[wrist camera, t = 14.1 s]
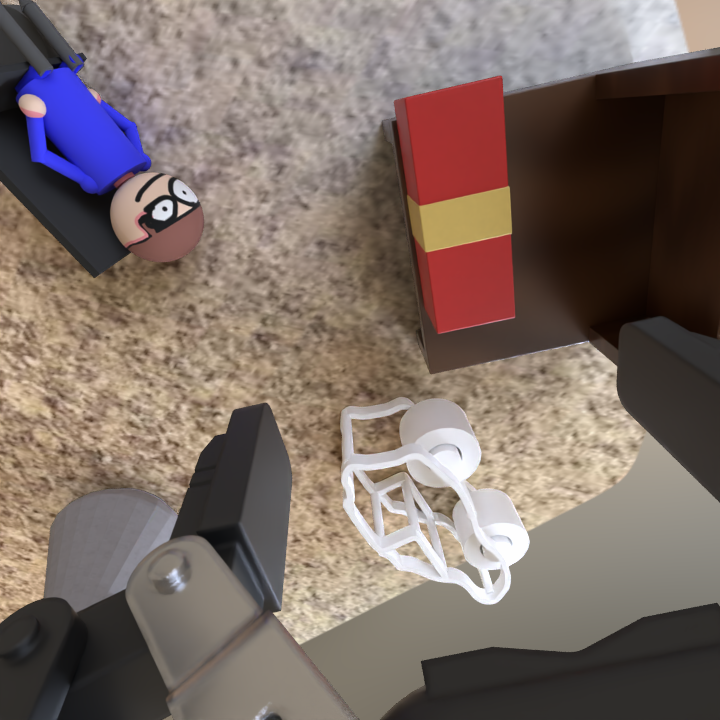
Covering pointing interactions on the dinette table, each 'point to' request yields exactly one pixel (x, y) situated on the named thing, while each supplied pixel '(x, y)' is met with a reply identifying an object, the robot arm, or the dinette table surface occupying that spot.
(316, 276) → the dinette table surface
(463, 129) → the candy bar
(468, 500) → the car outline toy
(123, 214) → the character figurine
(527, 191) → the shelf rack
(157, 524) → the coffee pot
